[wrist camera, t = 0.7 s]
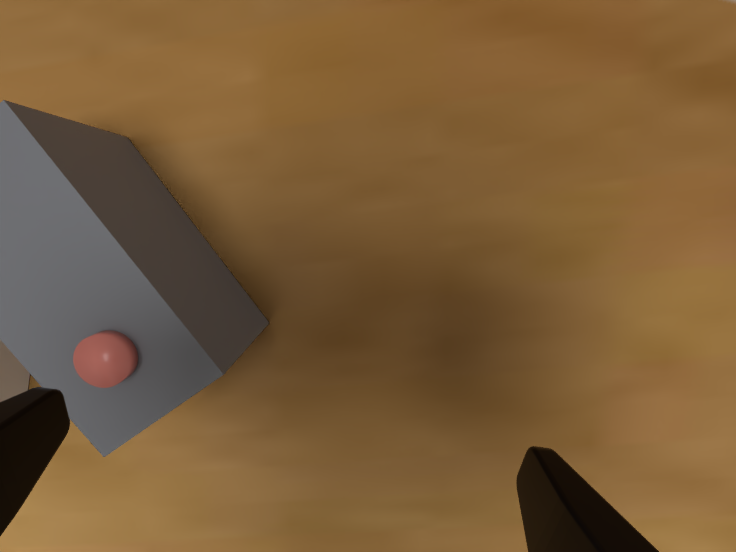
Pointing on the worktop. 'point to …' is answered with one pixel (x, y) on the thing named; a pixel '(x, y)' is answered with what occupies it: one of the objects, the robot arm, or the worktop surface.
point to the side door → (11, 374)
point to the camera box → (108, 279)
